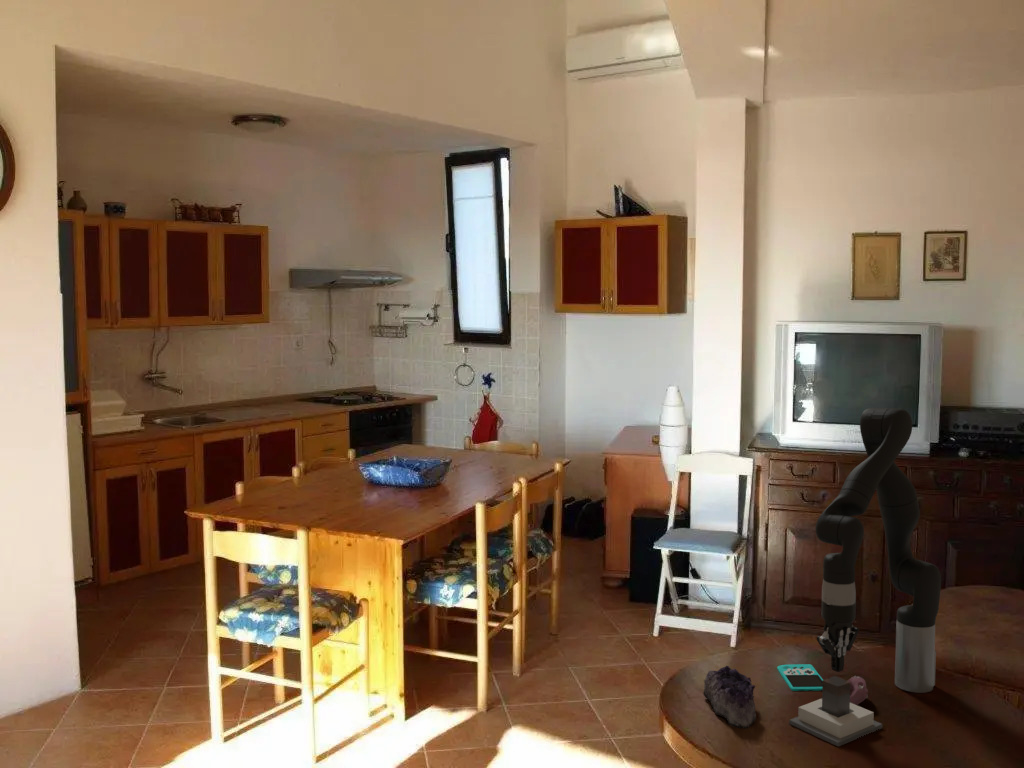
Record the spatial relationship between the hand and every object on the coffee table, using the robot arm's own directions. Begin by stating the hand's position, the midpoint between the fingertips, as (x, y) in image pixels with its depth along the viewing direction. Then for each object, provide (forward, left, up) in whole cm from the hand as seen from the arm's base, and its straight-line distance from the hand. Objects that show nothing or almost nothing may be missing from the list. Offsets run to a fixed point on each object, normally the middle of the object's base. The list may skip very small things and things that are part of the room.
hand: (837, 670), depth 230 cm
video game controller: (-15, -7, -14) cm, 21 cm away
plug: (0, 0, -13) cm, 13 cm away
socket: (0, 0, -14) cm, 14 cm away
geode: (+13, -20, -14) cm, 28 cm away
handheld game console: (-16, -23, -15) cm, 32 cm away
